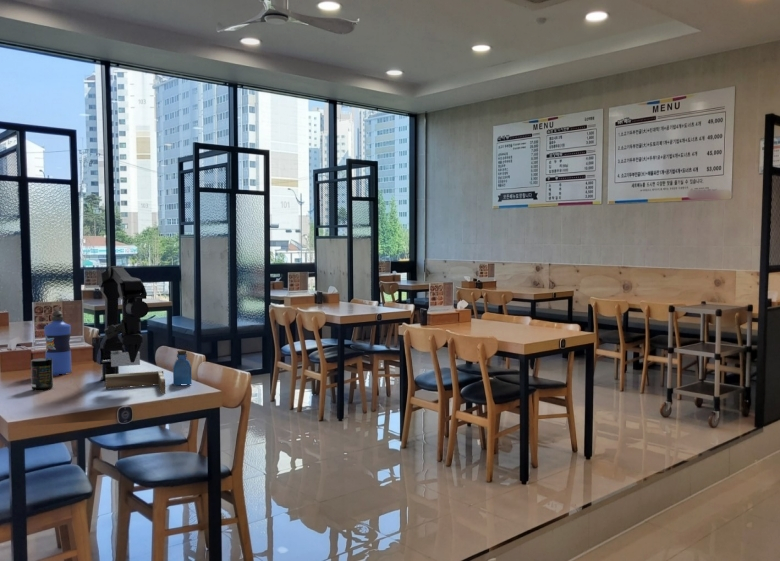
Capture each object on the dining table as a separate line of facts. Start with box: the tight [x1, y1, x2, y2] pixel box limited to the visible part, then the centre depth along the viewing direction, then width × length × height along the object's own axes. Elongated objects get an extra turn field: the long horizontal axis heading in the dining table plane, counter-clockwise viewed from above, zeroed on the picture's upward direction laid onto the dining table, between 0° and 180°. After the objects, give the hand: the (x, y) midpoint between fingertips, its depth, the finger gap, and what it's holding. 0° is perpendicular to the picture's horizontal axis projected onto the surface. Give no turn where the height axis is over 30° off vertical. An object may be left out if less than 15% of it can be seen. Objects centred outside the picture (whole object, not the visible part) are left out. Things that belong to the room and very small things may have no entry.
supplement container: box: [30, 357, 54, 391], centre depth 227 cm, size 7×7×10 cm
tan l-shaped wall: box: [105, 370, 166, 394], centre depth 223 cm, size 18×19×5 cm
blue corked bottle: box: [172, 350, 192, 385], centre depth 235 cm, size 6×6×12 cm
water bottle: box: [43, 310, 72, 376], centre depth 257 cm, size 9×9×25 cm
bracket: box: [111, 351, 141, 367], centre depth 222 cm, size 9×9×4 cm
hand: (132, 361), depth 221 cm, fingers closed on bracket, 4 cm apart
